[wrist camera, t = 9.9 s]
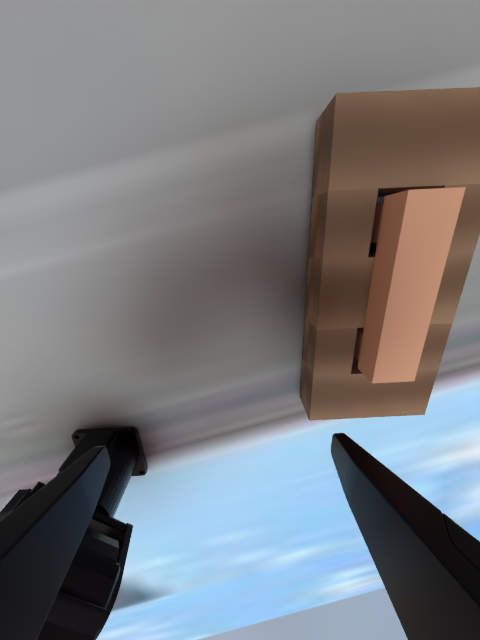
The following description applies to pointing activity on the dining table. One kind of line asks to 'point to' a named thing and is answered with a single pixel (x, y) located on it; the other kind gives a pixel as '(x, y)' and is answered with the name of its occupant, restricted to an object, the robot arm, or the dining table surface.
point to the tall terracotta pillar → (405, 280)
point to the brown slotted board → (356, 229)
